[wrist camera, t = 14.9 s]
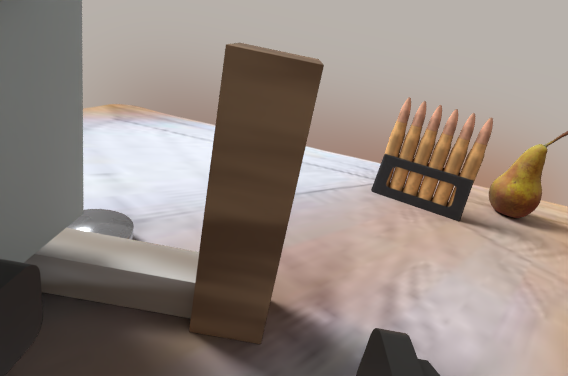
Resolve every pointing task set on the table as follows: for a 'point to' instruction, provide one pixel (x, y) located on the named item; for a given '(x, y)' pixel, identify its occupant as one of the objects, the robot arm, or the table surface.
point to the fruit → (521, 183)
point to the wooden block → (212, 211)
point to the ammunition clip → (431, 162)
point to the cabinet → (39, 123)
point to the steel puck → (104, 223)
